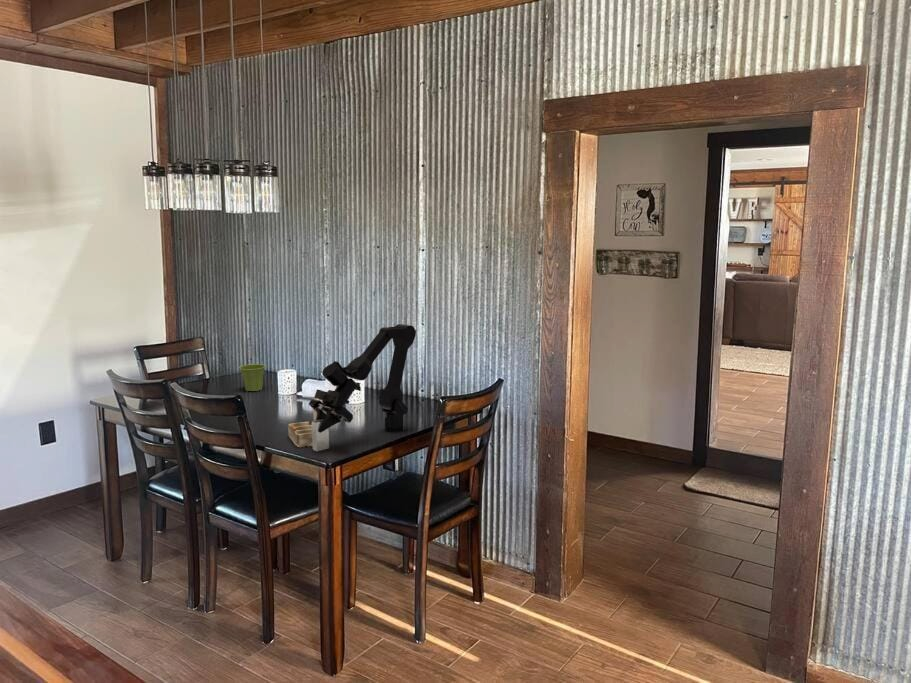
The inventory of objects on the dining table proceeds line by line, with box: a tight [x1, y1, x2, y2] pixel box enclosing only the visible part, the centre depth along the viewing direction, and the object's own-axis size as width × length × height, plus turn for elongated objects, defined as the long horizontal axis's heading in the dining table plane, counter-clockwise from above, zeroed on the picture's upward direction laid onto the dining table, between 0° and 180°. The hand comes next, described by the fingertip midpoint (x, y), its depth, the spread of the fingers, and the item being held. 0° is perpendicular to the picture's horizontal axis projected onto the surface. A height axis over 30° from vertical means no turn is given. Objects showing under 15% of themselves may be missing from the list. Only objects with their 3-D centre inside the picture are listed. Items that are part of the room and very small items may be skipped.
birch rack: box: [287, 421, 313, 448], centre depth 256 cm, size 7×15×5 cm, turn 24°
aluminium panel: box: [311, 419, 330, 452], centre depth 245 cm, size 5×2×10 cm, turn 136°
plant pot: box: [238, 363, 267, 392], centre depth 332 cm, size 12×12×11 cm
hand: (316, 431), depth 244 cm, fingers closed on aluminium panel, 2 cm apart
